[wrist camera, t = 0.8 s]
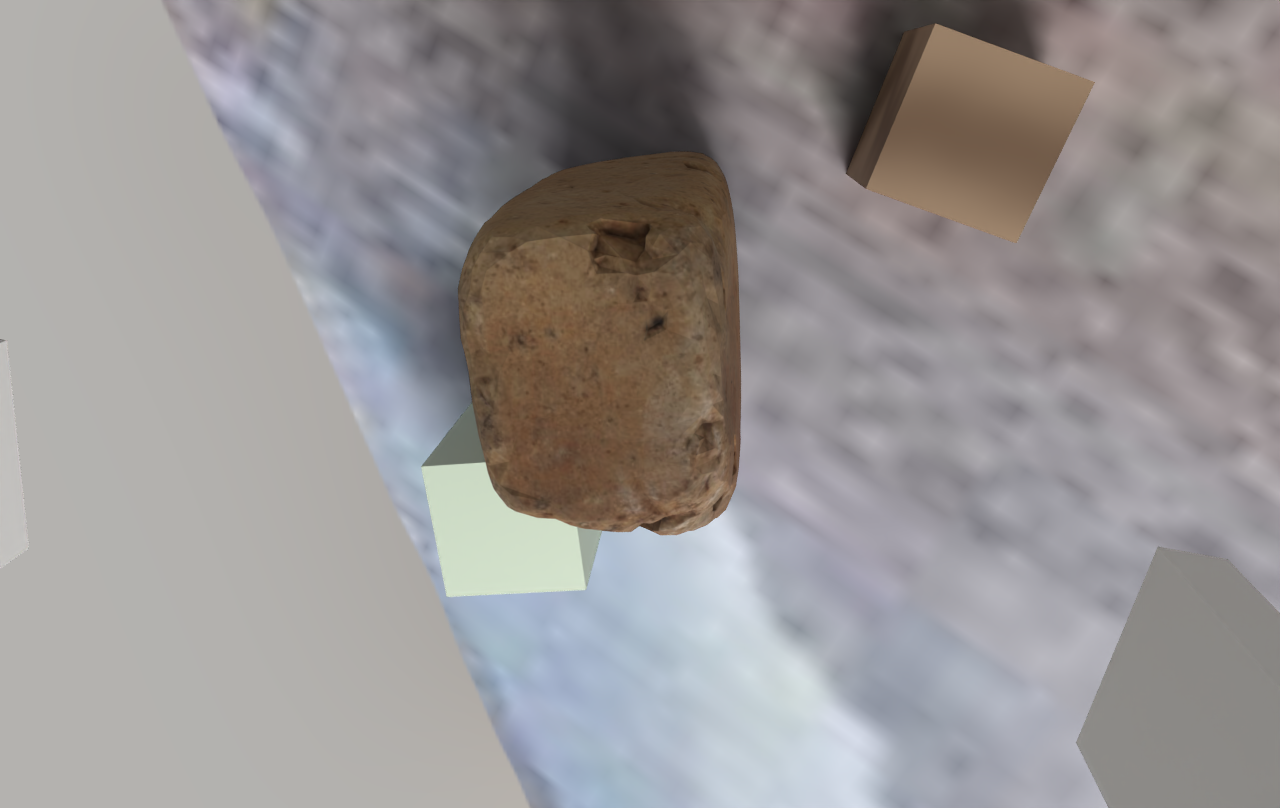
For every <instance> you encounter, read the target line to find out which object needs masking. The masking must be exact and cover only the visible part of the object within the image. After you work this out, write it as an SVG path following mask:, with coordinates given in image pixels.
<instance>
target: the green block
mask: <svg viewBox="0 0 1280 808" xmlns="http://www.w3.org/2000/svg"><path fill="white" fill-rule="evenodd" d="M421 468H422V473H423V478H424V483H425V488H426V493H427V498H428V503H429V509H430V514H431V519H432V524H433V529H434V534H435V539H436V544H437V549H438V554H439V559H440V565H441V570H442V575H443V580H444V585H445V590H446V595H447V597H454V596H474V595H494V594H514V593H534V592H554V591H573V590H586V588H587V584H588V581H589V577H590V573H591V570H592V566H593V562H594V559H595V555H596V551H597V548H598V544H599V540H600V536H601V533H602V531H601V530H592V529H583V528H579V527H575V526H571V525H568V524H566V523H564V522H562V521H559V520H557V519H546V518H536V517H533V516H529V515H526V514H523V513H519V512H516V511H514V510H512V509H510V508H509V507H507V506H506V504H505V503H504V502H503V501H502V499H501V498H500V497H499V495H498V494H497V493H496V492H495V490H494V489H493V486H492V483H491V480H490V477H489V475H488V471H487V467H486V463H485V458H484V454H483V450H482V447H481V443H480V439H479V435H478V430H477V425H476V419H475V414H474V409H473V403H471V404H470V405H469V407H468V408H467V409H466V410H465V412H464V413H463V414H462V415H461V417H460V418H459V419H458V421H457V422H456V423H455V424H454V426H453V427H452V428H451V429H450V431H449V432H448V433H447V435H446V436H445V437H444V438H443V440H442V441H441V442H440V443H439V445H438V446H437V447H436V449H435V450H434V451H433V452H432V454H431V455H430V456H429V457H428V459H427V460H426V461H425V463H424V464H423V465H422V466H421Z"/></svg>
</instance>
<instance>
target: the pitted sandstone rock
mask: <svg viewBox="0 0 1280 808" xmlns="http://www.w3.org/2000/svg"><path fill="white" fill-rule="evenodd" d="M458 300H459V320H460V334H461V341H462V345H463V348H464V353H465V357H466V362H467V366H468V371H469V378H470V387H471V395H472V403H473V409H474V414H475V419H476V425H477V430H478V435H479V439H480V443H481V447H482V450H483V454H484V458H485V463H486V467H487V471H488V475H489V477H490V480H491V483H492V486H493V489H494V490H495V492H496V493H497V494H498V495H499V497H500V498H501V499H502V501H503V502H504V503H505V504H506V506H507V507H509V508H510V509H512V510H514V511H516V512H519V513H523V514H526V515H529V516H533V517H536V518H546V519H557V520H559V521H562V522H564V523H566V524H568V525H571V526H575V527H579V528H583V529H592V530H601V531H611V532H631V531H633V530H634V529H636V528H637V527H638V526H641V527H643V528H646V529H648V530H650V531H653V532H655V533H657V534H659V535H678V534H681V533H684V532H687V531H693V530H696V529H698V528H700V527H703V526H705V525H707V524H709V523H710V522H711V521H712V520H713V519H715V518H718V517H719V516H720V515H721V514H722V513H723V512H724V511H725V510H726V508H727V506H728V504H729V501H730V499H731V497H732V494H733V492H734V490H735V487H736V482H737V476H738V469H739V457H740V440H741V438H740V420H741V357H740V315H739V282H738V263H737V248H736V234H735V224H734V216H733V209H732V203H731V198H730V193H729V189H728V185H727V182H726V179H725V177H724V174H723V173H722V171H721V169H720V168H719V166H718V165H717V163H716V162H715V161H714V160H713V159H711V158H710V157H708V156H706V155H704V154H702V153H696V152H666V153H658V154H650V155H643V156H635V157H627V158H620V159H614V160H606V161H601V162H595V163H590V164H586V165H581V166H577V167H573V168H568V169H564V170H562V171H559V172H557V173H554V174H552V175H550V176H549V177H547V178H544V179H542V180H541V181H539V182H538V183H537V184H535V185H534V186H532V187H531V188H529V189H527V190H525V191H524V192H522V193H521V194H519V195H517V196H516V197H514V198H513V199H511V200H510V201H508V202H507V203H506V204H504V205H503V206H502V207H501V208H500V209H499V210H498V211H497V212H496V213H495V214H494V215H493V216H492V218H490V219H489V220H488V221H486V222H485V223H484V225H483V226H482V228H481V229H480V231H479V232H478V234H477V235H476V237H475V239H474V241H473V243H472V245H471V247H470V249H469V251H468V254H467V257H466V260H465V263H464V265H463V268H462V272H461V277H460V281H459V286H458Z"/></svg>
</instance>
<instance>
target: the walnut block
mask: <svg viewBox="0 0 1280 808" xmlns="http://www.w3.org/2000/svg"><path fill="white" fill-rule="evenodd" d="M1094 83H1095V82H1093V81H1090V80H1087V79H1085V78H1082V77H1079V76H1076V75H1074V74H1071V73H1068V72H1066V71H1063V70H1060V69H1058V68H1055V67H1052V66H1049V65H1047V64H1044V63H1041V62H1039V61H1036V60H1033V59H1031V58H1028V57H1025V56H1022V55H1020V54H1017V53H1014V52H1012V51H1009V50H1006V49H1003V48H1001V47H998V46H995V45H993V44H990V43H987V42H985V41H982V40H979V39H976V38H974V37H971V36H968V35H966V34H963V33H960V32H957V31H955V30H952V29H949V28H947V27H944V26H941V25H939V24H936V23H935V24H931V25H927V26H924V27H920V28H916V29H913V30H909V31H905V32H904V34H903V36H902V39H901V41H900V43H899V46H898V48H897V51H896V53H895V56H894V58H893V61H892V63H891V65H890V68H889V70H888V73H887V75H886V78H885V80H884V82H883V85H882V87H881V90H880V92H879V95H878V97H877V99H876V102H875V104H874V107H873V109H872V112H871V114H870V117H869V119H868V121H867V124H866V126H865V129H864V131H863V134H862V136H861V138H860V141H859V143H858V146H857V148H856V151H855V153H854V156H853V158H852V160H851V163H850V165H849V168H848V170H847V173H846V174H847V175H848V176H850V177H851V178H852V179H854V180H855V181H856V182H858V183H859V184H860V185H862V186H863V187H864V188H866V189H868V190H871V191H873V192H876V193H879V194H882V195H884V196H887V197H890V198H893V199H895V200H898V201H901V202H904V203H906V204H909V205H912V206H915V207H917V208H920V209H923V210H926V211H928V212H931V213H934V214H937V215H940V216H942V217H945V218H948V219H951V220H953V221H956V222H959V223H962V224H964V225H967V226H970V227H973V228H975V229H978V230H981V231H984V232H986V233H989V234H992V235H995V236H997V237H1000V238H1003V239H1006V240H1008V241H1011V242H1014V243H1017V241H1018V239H1019V237H1020V235H1021V233H1022V231H1023V229H1024V227H1025V224H1026V222H1027V220H1028V218H1029V216H1030V214H1031V212H1032V210H1033V208H1034V206H1035V204H1036V202H1037V200H1038V198H1039V196H1040V194H1041V192H1042V190H1043V188H1044V186H1045V183H1046V181H1047V179H1048V177H1049V175H1050V173H1051V171H1052V169H1053V167H1054V165H1055V163H1056V161H1057V159H1058V157H1059V155H1060V153H1061V151H1062V149H1063V147H1064V145H1065V142H1066V140H1067V138H1068V136H1069V134H1070V132H1071V130H1072V128H1073V126H1074V124H1075V122H1076V120H1077V118H1078V116H1079V114H1080V112H1081V110H1082V108H1083V106H1084V103H1085V101H1086V99H1087V97H1088V95H1089V93H1090V91H1091V89H1092V87H1093V85H1094Z"/></svg>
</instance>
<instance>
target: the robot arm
mask: <svg viewBox="0 0 1280 808" xmlns="http://www.w3.org/2000/svg"><path fill="white" fill-rule="evenodd" d="M27 549H29V545H28V535H27V526H26V516H25V506H24V497H23V487H22V479H21V468H20V459H19V449H18V441H17V431H16V421H15V411H14V402H13V392H12V383H11V373H10V364H9V354H8V345H7V340H2V339H0V569H1V568H2V567H3V566H5V565H6V564H7V563H9V562H10V561H12V560H13V559H15V558H16V557H17V556H19V555H20V554H22V553H23V552H24V551H26V550H27ZM1076 743H1077V745H1078V747H1079V749H1080V751H1081V753H1082V755H1083V757H1084V759H1085V761H1086V763H1087V765H1088V767H1089V769H1090V771H1091V773H1092V775H1093V777H1094V779H1095V781H1096V783H1097V785H1098V787H1099V789H1100V791H1101V794H1102V796H1103V798H1104V800H1105V802H1106V804H1107V806H1108V808H1280V613H1279V612H1278V611H1277V610H1276V609H1275V608H1274V607H1273V606H1272V605H1271V604H1270V603H1269V602H1268V601H1267V599H1266V598H1265V597H1264V596H1263V595H1262V594H1261V593H1260V592H1259V591H1258V590H1257V589H1256V588H1255V587H1254V586H1253V585H1252V584H1251V583H1250V582H1249V581H1248V580H1247V579H1246V578H1245V577H1244V576H1243V575H1242V574H1241V573H1240V572H1239V571H1238V570H1237V569H1236V568H1235V566H1234V565H1233V564H1232V563H1231V562H1230V561H1229V560H1228V559H1223V558H1218V557H1212V556H1206V555H1201V554H1195V553H1190V552H1184V551H1179V550H1173V549H1167V548H1162V547H1158V548H1157V550H1156V552H1155V555H1154V557H1153V560H1152V562H1151V564H1150V567H1149V569H1148V572H1147V574H1146V576H1145V579H1144V581H1143V584H1142V586H1141V588H1140V591H1139V593H1138V596H1137V598H1136V600H1135V603H1134V605H1133V608H1132V610H1131V612H1130V615H1129V617H1128V620H1127V622H1126V624H1125V627H1124V629H1123V631H1122V634H1121V636H1120V639H1119V641H1118V643H1117V646H1116V648H1115V651H1114V653H1113V655H1112V658H1111V660H1110V663H1109V665H1108V667H1107V670H1106V672H1105V675H1104V677H1103V679H1102V682H1101V684H1100V687H1099V689H1098V691H1097V694H1096V696H1095V699H1094V701H1093V703H1092V706H1091V708H1090V710H1089V713H1088V715H1087V718H1086V720H1085V722H1084V725H1083V727H1082V730H1081V732H1080V734H1079V737H1078V739H1077V742H1076Z"/></svg>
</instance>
